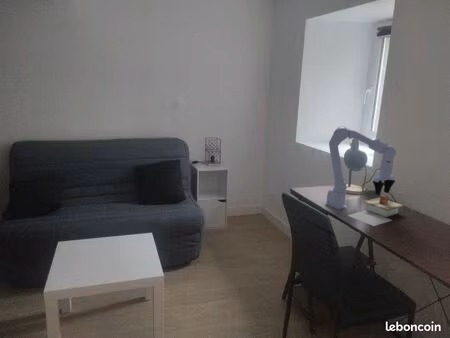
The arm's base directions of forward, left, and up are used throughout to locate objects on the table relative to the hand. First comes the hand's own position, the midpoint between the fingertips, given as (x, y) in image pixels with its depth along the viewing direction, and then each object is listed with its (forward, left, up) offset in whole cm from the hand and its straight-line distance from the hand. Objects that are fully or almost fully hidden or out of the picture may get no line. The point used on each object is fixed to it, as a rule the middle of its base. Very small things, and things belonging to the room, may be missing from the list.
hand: (382, 193), depth 183 cm
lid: (+1, 0, -6) cm, 6 cm away
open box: (+1, 0, -10) cm, 10 cm away
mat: (+3, -14, -10) cm, 17 cm away
